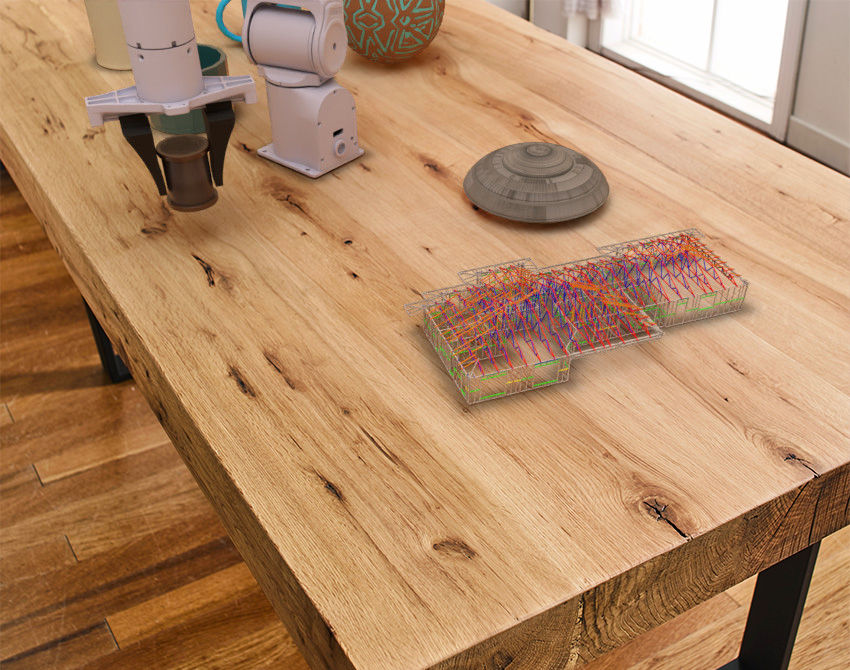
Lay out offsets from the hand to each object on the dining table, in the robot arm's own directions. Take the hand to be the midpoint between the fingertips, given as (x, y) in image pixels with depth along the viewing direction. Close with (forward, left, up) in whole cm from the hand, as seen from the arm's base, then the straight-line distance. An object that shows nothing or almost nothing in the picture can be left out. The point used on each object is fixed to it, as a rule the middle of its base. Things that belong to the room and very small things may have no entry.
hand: (190, 186), depth 87 cm
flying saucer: (-20, -28, -6) cm, 35 cm away
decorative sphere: (+18, -47, -6) cm, 51 cm away
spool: (0, 0, -1) cm, 1 cm away
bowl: (+24, -18, -6) cm, 30 cm away
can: (+46, -25, -6) cm, 53 cm away
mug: (+36, -40, -6) cm, 54 cm away
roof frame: (-36, -13, -6) cm, 39 cm away
